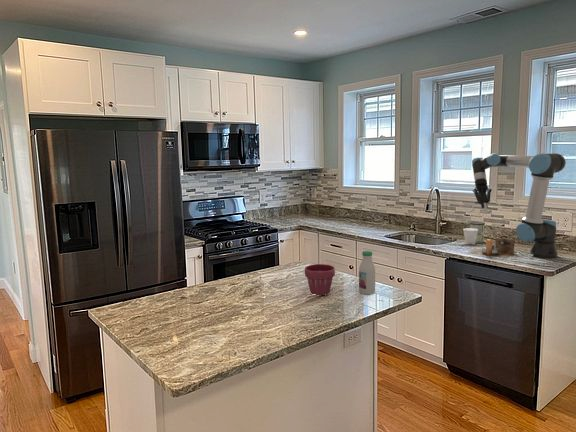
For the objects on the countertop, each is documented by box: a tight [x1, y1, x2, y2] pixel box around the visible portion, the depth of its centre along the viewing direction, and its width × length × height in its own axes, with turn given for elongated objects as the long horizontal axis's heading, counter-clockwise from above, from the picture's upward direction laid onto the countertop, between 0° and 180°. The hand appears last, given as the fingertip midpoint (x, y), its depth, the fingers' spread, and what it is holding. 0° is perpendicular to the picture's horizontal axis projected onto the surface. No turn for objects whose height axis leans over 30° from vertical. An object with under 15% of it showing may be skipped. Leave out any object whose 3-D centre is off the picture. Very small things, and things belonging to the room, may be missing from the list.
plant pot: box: [304, 263, 336, 295], centre depth 211 cm, size 14×14×13 cm
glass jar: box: [469, 221, 486, 244], centre depth 327 cm, size 10×10×14 cm
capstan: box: [481, 238, 499, 257], centre depth 281 cm, size 11×12×10 cm
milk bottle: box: [358, 250, 376, 295], centre depth 211 cm, size 8×8×20 cm
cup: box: [462, 227, 478, 245], centre depth 316 cm, size 10×10×11 cm
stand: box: [467, 237, 515, 259], centre depth 283 cm, size 24×17×10 cm
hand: (485, 212), depth 296 cm, fingers closed
